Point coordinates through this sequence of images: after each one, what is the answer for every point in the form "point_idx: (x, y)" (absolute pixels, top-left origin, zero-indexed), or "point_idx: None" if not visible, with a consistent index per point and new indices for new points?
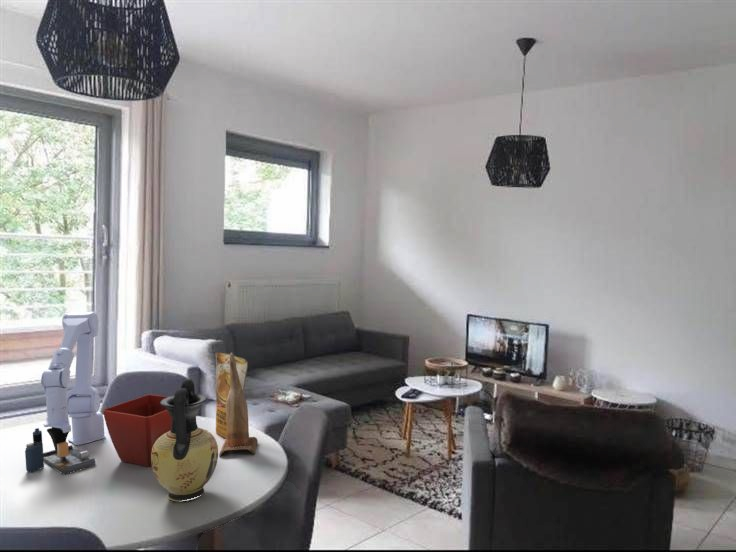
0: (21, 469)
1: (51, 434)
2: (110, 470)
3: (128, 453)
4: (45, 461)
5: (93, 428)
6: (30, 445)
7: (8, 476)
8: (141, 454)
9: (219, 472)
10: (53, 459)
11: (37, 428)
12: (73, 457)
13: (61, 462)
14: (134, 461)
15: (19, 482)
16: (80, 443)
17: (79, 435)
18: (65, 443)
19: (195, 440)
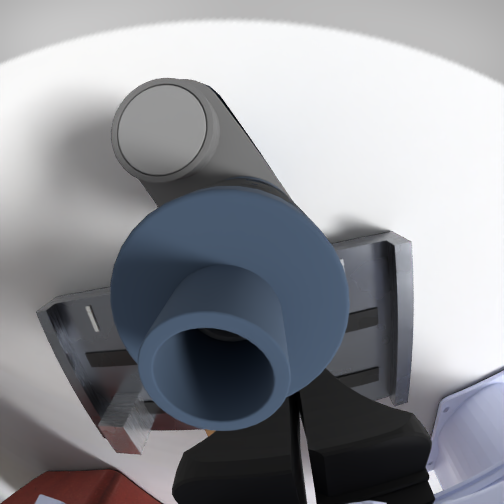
0: (298, 98)
1: (263, 438)
2: (48, 421)
3: (60, 489)
4: None
5: (455, 480)
6: (114, 133)
7: (218, 28)
8: (29, 489)
9: (7, 488)
10: None
11: (274, 398)
12: None
13: None
14: (65, 475)
15: (78, 89)
16: (441, 412)
17: (470, 430)
18: (206, 432)
19: None
